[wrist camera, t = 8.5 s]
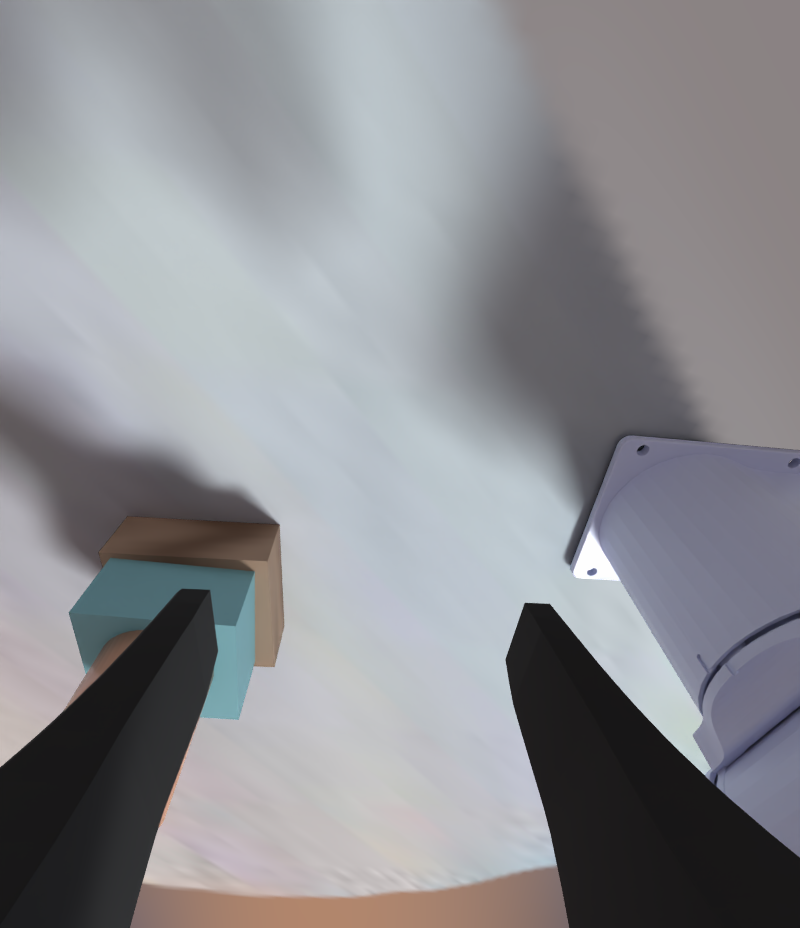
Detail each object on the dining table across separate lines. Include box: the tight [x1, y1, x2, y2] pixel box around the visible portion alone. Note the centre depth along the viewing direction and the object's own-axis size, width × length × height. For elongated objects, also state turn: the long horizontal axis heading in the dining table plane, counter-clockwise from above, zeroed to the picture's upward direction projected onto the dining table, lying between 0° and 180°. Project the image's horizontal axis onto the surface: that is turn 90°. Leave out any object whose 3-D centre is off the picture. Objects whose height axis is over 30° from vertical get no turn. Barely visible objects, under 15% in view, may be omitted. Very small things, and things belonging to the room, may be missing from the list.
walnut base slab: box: [98, 516, 284, 667], centre depth 23 cm, size 7×7×3 cm
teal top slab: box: [69, 558, 255, 720], centre depth 20 cm, size 6×6×3 cm
